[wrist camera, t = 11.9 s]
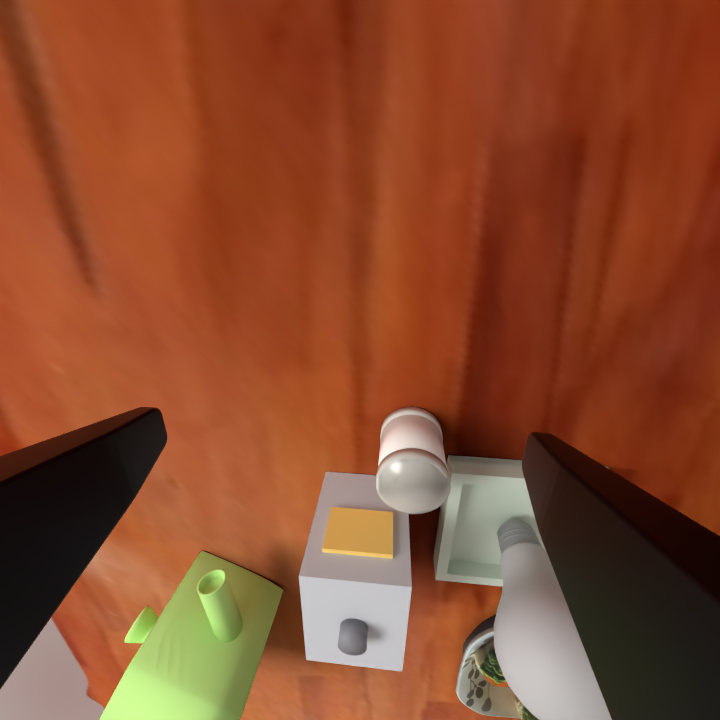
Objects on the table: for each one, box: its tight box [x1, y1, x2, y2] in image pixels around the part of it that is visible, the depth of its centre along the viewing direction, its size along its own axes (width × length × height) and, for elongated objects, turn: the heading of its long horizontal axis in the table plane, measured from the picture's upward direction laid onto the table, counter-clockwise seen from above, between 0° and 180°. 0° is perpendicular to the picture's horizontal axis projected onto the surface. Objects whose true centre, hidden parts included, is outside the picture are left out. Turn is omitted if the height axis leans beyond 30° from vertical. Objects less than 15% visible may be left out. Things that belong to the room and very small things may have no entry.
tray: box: [433, 455, 609, 587], centre depth 25 cm, size 11×11×2 cm
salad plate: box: [456, 615, 539, 720], centre depth 32 cm, size 19×18×5 cm
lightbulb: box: [494, 520, 612, 720], centre depth 20 cm, size 6×6×11 cm
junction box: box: [299, 472, 412, 671], centre depth 23 cm, size 6×9×9 cm
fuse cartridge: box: [376, 407, 451, 514], centre depth 21 cm, size 4×4×5 cm
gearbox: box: [99, 551, 283, 720], centre depth 29 cm, size 18×10×10 cm, turn 150°
